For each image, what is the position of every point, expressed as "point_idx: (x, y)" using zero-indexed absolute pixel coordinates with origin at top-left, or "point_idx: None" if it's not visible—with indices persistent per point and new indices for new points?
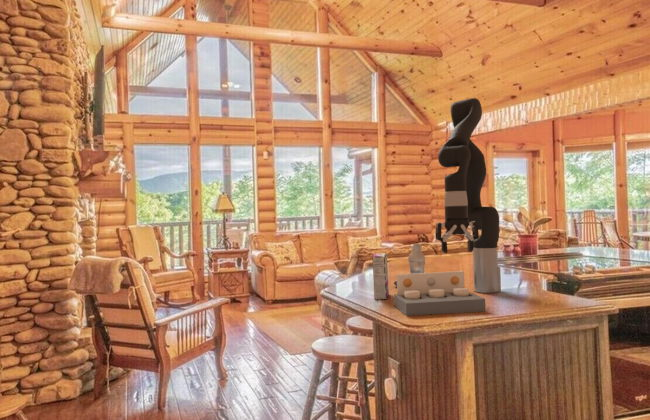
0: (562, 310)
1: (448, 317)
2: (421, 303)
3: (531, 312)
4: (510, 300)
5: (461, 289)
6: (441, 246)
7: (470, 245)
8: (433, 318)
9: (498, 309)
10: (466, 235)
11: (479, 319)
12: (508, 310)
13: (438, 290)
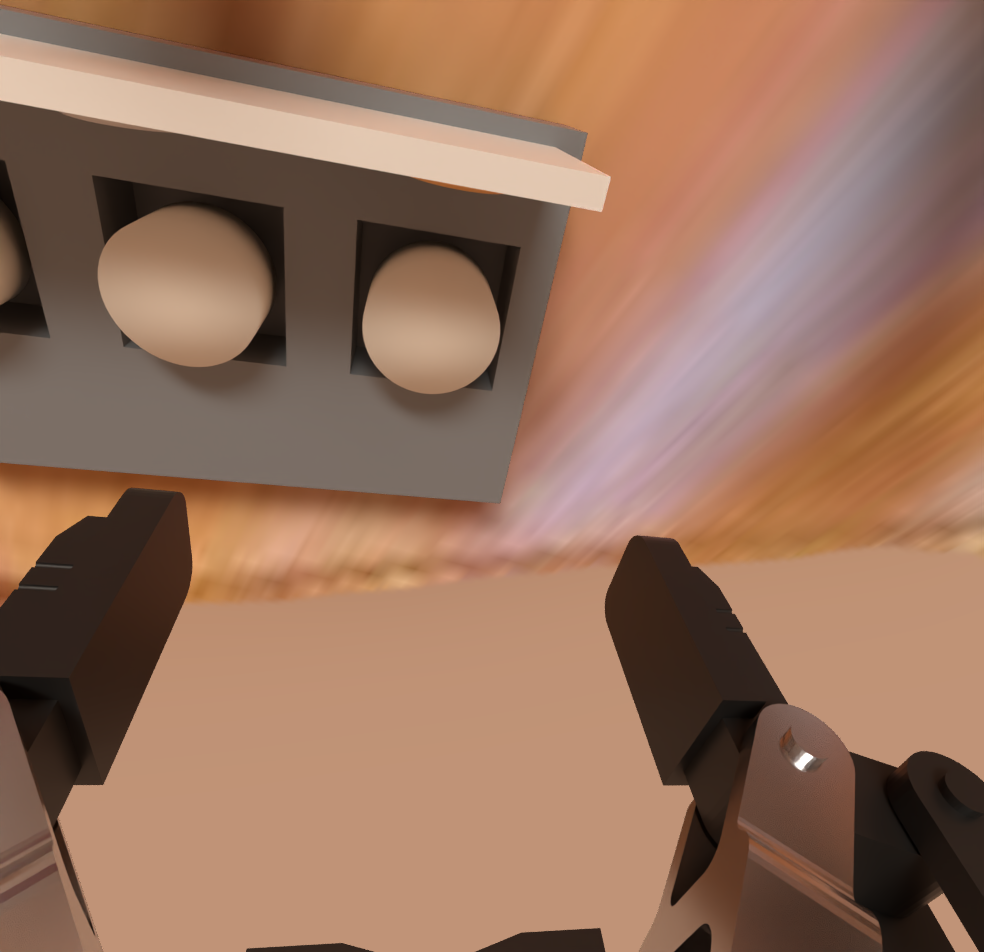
0: (816, 549)
1: (227, 508)
2: (23, 459)
3: None
4: (865, 241)
5: (418, 366)
6: (11, 596)
7: (645, 704)
8: None
9: (587, 442)
10: (658, 939)
11: (367, 577)
12: (615, 478)
13: (195, 327)
